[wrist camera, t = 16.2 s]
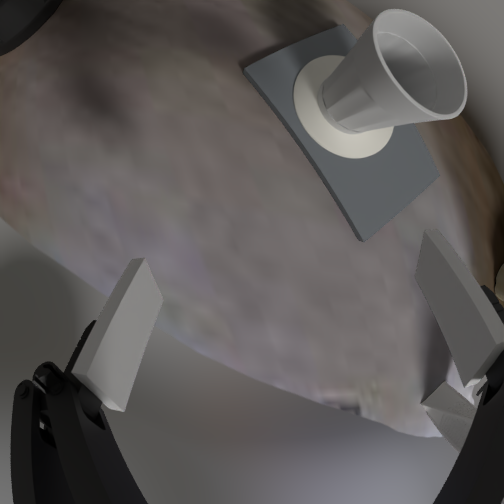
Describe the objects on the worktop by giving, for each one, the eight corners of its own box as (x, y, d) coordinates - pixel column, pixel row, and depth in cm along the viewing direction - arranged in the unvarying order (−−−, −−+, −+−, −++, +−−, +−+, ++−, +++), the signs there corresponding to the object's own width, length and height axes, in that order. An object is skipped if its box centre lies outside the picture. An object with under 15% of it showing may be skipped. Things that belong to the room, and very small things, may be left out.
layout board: (242, 73, 23) (244, 67, 21) (339, 28, 23) (344, 23, 21) (358, 240, 28) (365, 242, 26) (433, 175, 27) (441, 175, 26)
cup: (341, 54, 22) (406, -4, 10) (395, 111, 24) (478, 83, 12) (291, 98, 23) (347, 36, 11) (352, 159, 24) (440, 144, 13)
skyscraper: (422, 421, 37) (504, 517, 9) (411, 407, 35) (507, 517, 8) (454, 391, 36) (544, 475, 9) (446, 373, 35) (553, 467, 7)
